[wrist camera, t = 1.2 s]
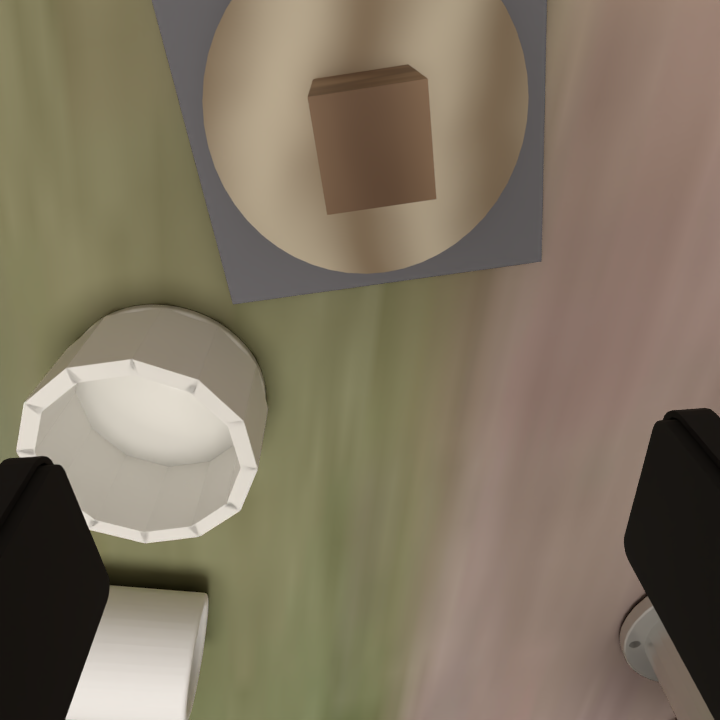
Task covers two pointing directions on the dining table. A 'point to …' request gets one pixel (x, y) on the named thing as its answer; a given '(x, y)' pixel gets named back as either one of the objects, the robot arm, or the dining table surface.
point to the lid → (365, 123)
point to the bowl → (152, 422)
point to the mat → (296, 277)
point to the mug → (143, 657)
